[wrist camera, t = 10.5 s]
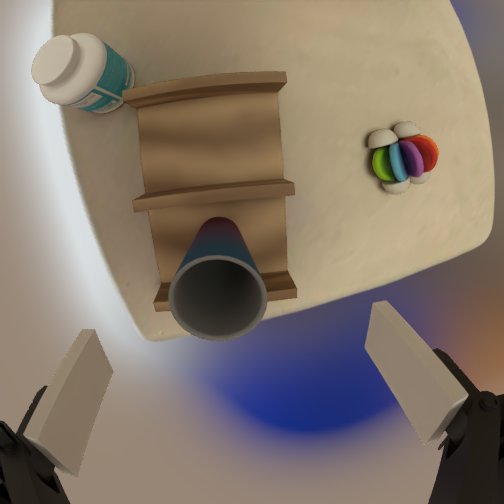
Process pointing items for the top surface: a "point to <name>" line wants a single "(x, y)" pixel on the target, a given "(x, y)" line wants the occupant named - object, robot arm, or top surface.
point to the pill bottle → (82, 73)
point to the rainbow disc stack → (402, 156)
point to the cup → (218, 285)
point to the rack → (214, 169)
